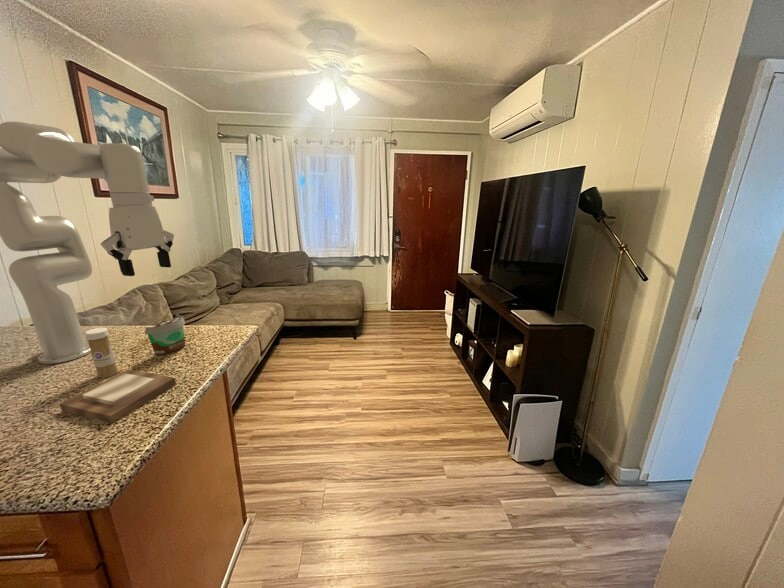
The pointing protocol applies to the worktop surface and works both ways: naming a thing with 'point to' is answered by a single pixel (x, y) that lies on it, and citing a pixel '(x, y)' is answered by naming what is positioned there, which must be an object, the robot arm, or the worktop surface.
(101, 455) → the worktop surface
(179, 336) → the food container
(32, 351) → the worktop surface
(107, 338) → the sprinkles bottle
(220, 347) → the worktop surface
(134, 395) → the stacking base
